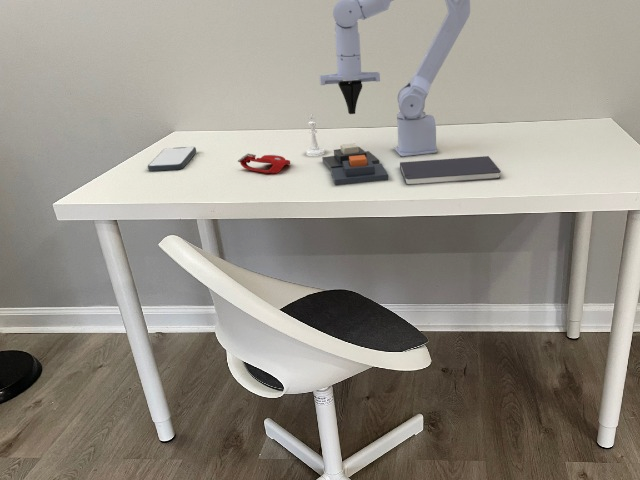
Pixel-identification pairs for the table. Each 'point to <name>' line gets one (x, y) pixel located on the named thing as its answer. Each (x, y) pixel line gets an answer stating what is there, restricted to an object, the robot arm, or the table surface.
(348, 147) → the cream key
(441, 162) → the notebook
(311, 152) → the chess piece
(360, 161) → the orange key
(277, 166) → the red curved piece
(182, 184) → the table surface
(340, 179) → the slotted grey holder
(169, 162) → the phone case
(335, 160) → the dark grey stepped base
